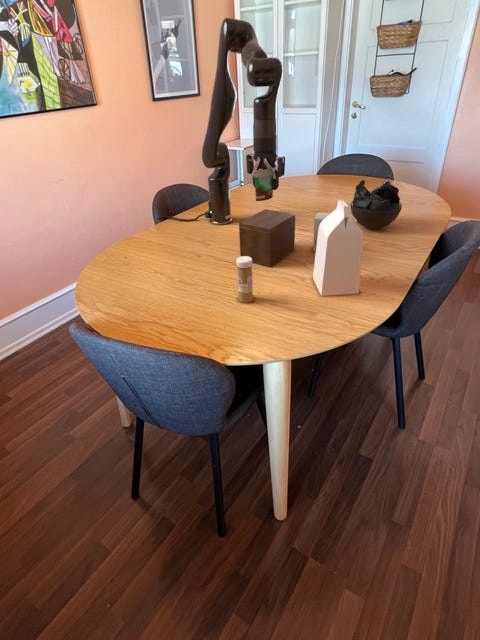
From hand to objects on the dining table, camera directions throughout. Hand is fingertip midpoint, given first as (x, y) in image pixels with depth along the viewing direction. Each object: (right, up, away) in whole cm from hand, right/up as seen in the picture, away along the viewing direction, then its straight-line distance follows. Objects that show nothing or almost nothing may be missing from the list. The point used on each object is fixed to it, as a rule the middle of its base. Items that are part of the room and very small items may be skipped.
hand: (265, 188), depth 129 cm
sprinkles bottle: (-7, -39, -13) cm, 41 cm away
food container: (+1, -3, +2) cm, 3 cm away
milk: (+21, -34, -8) cm, 41 cm away
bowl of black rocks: (+47, -6, +32) cm, 58 cm away
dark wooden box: (+2, -20, +14) cm, 24 cm away
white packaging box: (+23, -17, +16) cm, 33 cm away
